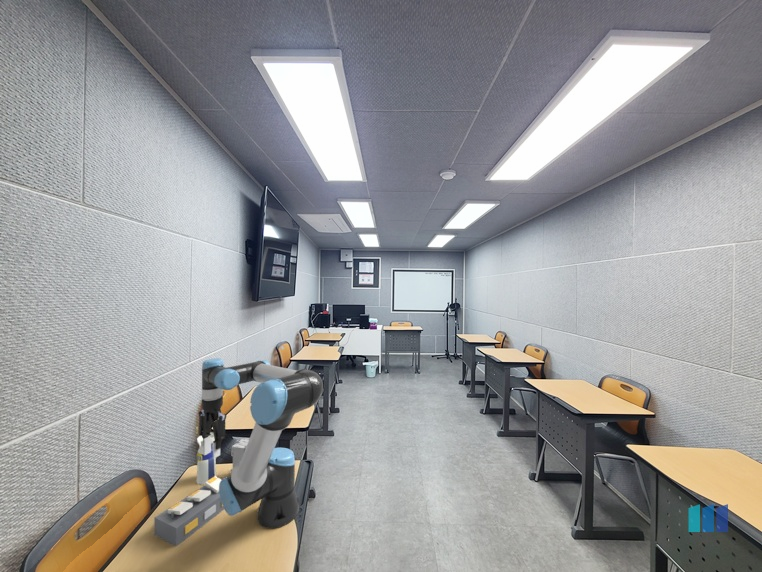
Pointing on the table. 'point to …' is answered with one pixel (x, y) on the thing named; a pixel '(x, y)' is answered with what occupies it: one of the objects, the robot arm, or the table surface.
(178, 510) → the rocker
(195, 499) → the block
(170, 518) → the panel
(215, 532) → the table surface
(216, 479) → the rocker
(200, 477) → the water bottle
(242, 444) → the circuit breaker
